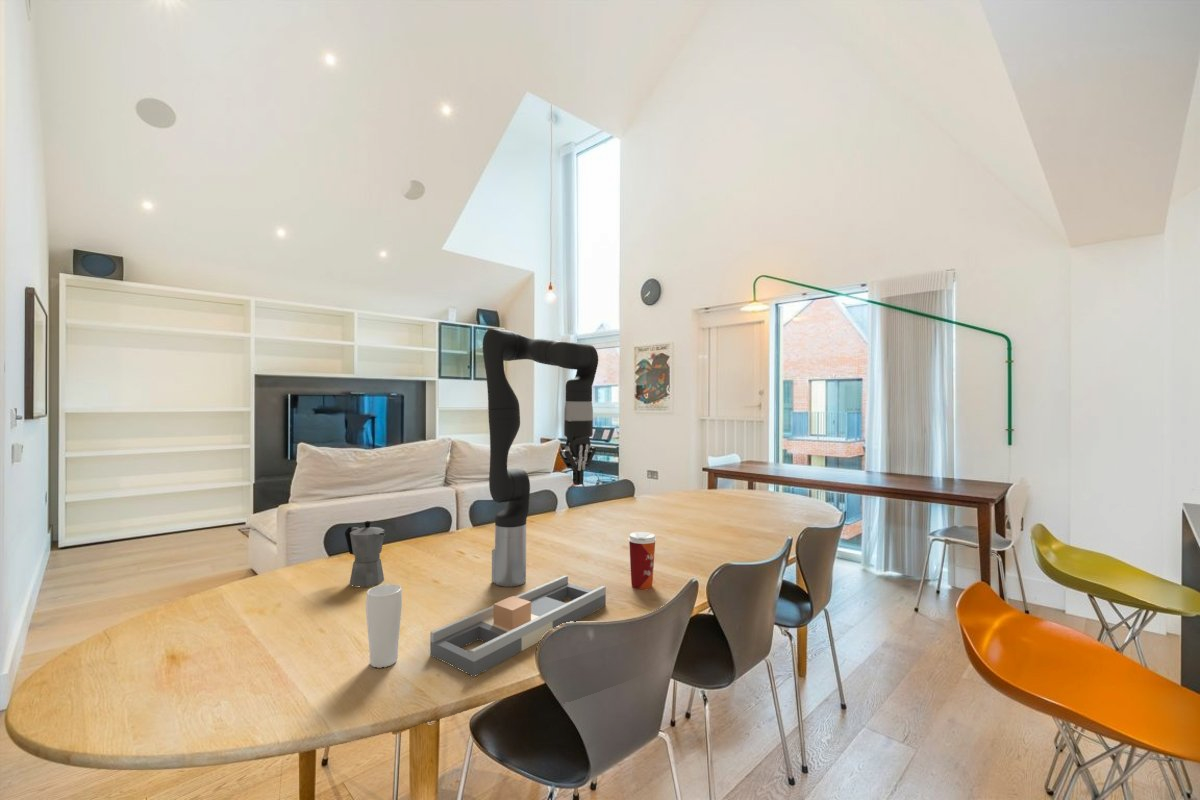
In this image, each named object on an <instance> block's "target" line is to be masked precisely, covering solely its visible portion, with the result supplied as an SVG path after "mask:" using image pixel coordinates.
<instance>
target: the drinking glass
mask: <svg viewBox="0 0 1200 800" xmlns="http://www.w3.org/2000/svg"><path fill="white" fill-rule="evenodd" d="M402 590H403V589H402V587H401V585H399V584H394V583H393V584H392V583H388V584H387V583H386V584H385V583H384V584H378V585H375V586H372V587H370V588H369V589H368V590H366V591H367V592H366V601H365V604H366V605H365V607H366V608H365V610H366V611H365V613H366V625H367V636H368V637H367V638H368V639H367V640H368V648H369V650H368V651H369V664H370V666H371V667H373V668H375V667H377V669H383V668H382V667H384V668H387V666H388V667H391V666H392V665H394V664H395V663H396V662H397V660H398V658H399V657H398V656H399V639H400V628H401V620H402V610H403V609H402V608H403V593H402V592H403V591H402Z"/></svg>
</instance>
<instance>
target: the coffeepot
mask: <svg viewBox="0 0 1200 800" xmlns="http://www.w3.org/2000/svg"><path fill="white" fill-rule="evenodd" d="M344 536H345V537H344V538H345V541H346V544H347V548H348V553H349V554H350V555H353V556H354V561H353V564H352V569H351V574H350V580H349V584H350V586H351V585H353V586H360V587H363V588H368V587H367V586H371V587H373V586H372V585H375V586H377V585H376V584H378V585H380V584H382V583H383V581H384V580H385V575H384V570H383V565H382V559H381V555H380V554H381V553H382V551H383V550H382V549H383V543H384V537H386V533H385V529H383V528H382V527H377V526H375V527H374V526H373V527H372V526H371V521H370V520H367V521H364V527H361V528H360V527H357V526H356V527H355V526H348V527H347V529H346V530H345V532H344ZM379 583H380V584H379ZM353 586H352V587H353Z"/></svg>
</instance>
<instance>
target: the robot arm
mask: <svg viewBox="0 0 1200 800" xmlns="http://www.w3.org/2000/svg"><path fill="white" fill-rule="evenodd" d="M482 355H483V356H482V357H483V362H484V368H485V369H484V370H485V375H486V376H485V377H486V387H487V400H488V401H487V404H488V405H487V409H488V411H487V412H488V428H489V447H490V449H489V477H488V478H489V479H488V484H489V493H490V497H491V498H492V500H493V501H494V502H495V503H499V504H501V503H507V502H508V503H507V505H506V506H505V507H504V508H503V509H502V510H501V511H499V512H497V513H496V514H495V517H494V548H493V549H492V550H491V583H494V584H495V585H497V586H500V587H506V588H507V587H509V588H510V587H518V586H522V585H523V584H525V583H526V581H527V518H528V517H529V516H528V515H529V511H530V498H531V497H530V495H531V484H530V477H529V475H528V473H527V471H526V470H524V469H521V468H514V469H508V457H509V453H510V448H511V447H512V444H513V443H514V440H515V438H516V436H517V435H518V432H519V430H520V427H521V411H520V409H521V408H520V403H519V399H518V396H517V395H516V393H515V391H514V390H513V388H512V386H511V385H510V383H509V381H508V378H507V377H506V373H505V365H504V362H511V361H521V360H531V361H534V362H536V363H538V364H542V365H547V366H555V367H560V368H563V369H567V370H575V371H576V374H575V377H574V378H570V379H569V380H567V382H566V383H565V403H564V404H565V406H564V416H563V417H564V420H563V421H564V423H563V426H564V427H563V428H564V429H563V432H564V433H563V435H564V437H565V438H566V443H565V447H564V449H563V450H562V449H561V450H559V456H560V458H561V459H562V461H563V462H564V464H565V466H566V468H567V469H570V470H571V471H572V483H573V485H576V486H580V485H581V486H582V485H583V484H584V474H585V473H584V472H585V470H586V468H589V466H590V465H591V463H592V460H593V458H594V456H595V454H596V452H597V449H596V447H593V446H592V445H591V439H590V438H591V437H592V436H593V434H594V433H593V432H594V431H593V429H594V424H593V423H594V408H593V384H594V381H595V377H596V374H597V373H596V372H597V369H598V365H599V355H598V351H597V349H596V348H595V346H594V345H591V344H589V343H581V342H575V341H574V342H573V341H562V340H557V339H556V340H555V339H549V338H531V337H527V336H525V335H522V334H519V333H517V332H514V331H512V330H506V329H498V328H489V329H488V330H486V331H485V333H484V335H483V339H482Z"/></svg>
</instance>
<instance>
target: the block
mask: <svg viewBox="0 0 1200 800" xmlns="http://www.w3.org/2000/svg"><path fill="white" fill-rule="evenodd" d="M493 605H494V620H493V624H496V625H498V626H501V627H504V628H506V629H509V630H513V629H515V628H517V627H519V626H521V625H523V624H525V623H527V622H529V621H531V602H530V601H527V600H524V599H521V598H517V597H515V596H514V595H512V596H509V597H507V598H504V599H502V600H499V601H498V602H496V603H493Z"/></svg>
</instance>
